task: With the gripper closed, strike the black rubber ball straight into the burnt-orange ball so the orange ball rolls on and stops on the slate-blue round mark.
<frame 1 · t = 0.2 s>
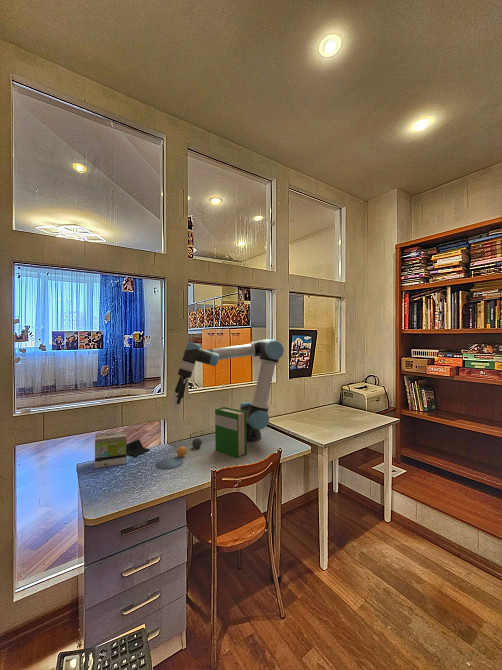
hand: (174, 406, 169), 27 cm above the table, tool tilted 20°, fingers open, 13 cm apart
tea box: (111, 463, 162), on the table
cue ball: (196, 443, 182), on the table
black bookend: (137, 453, 175), on the table
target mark: (169, 463, 160), on the table
orange ball: (181, 451, 169), on the table
hardback book: (230, 452, 174), on the table
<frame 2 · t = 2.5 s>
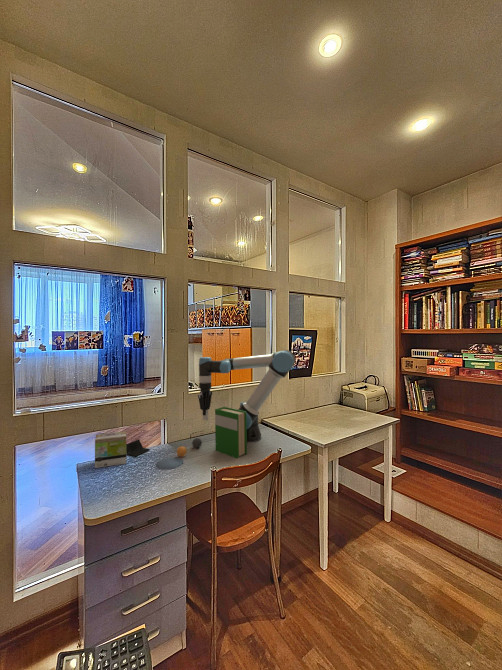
hand: (205, 420, 190), 14 cm above the table, tool pointing down, fingers closed
nothing on the table moved.
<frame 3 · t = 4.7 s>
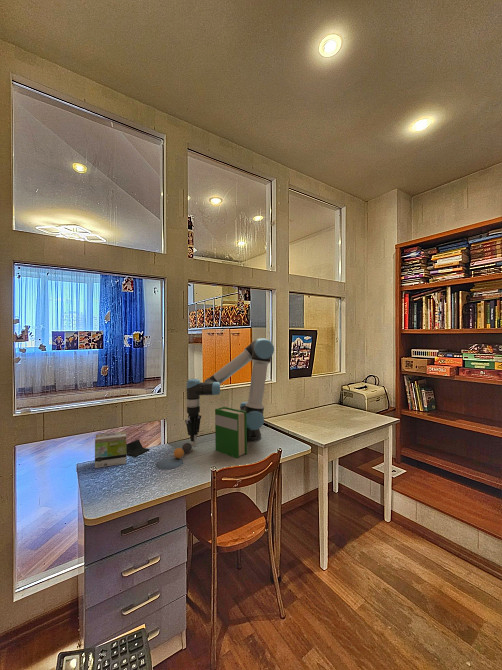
hand: (193, 446, 179), 2 cm above the table, tool pointing down, fingers closed
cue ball: (186, 447, 174), on the table
orange ball: (178, 453, 167), on the table
everything else where it was.
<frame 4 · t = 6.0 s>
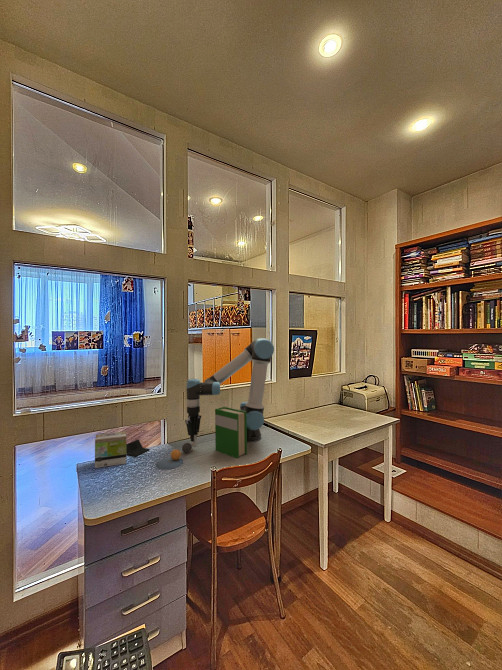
hand: (193, 446, 179), 2 cm above the table, tool pointing down, fingers closed
orange ball: (175, 454, 165), on the table
everything else where it was.
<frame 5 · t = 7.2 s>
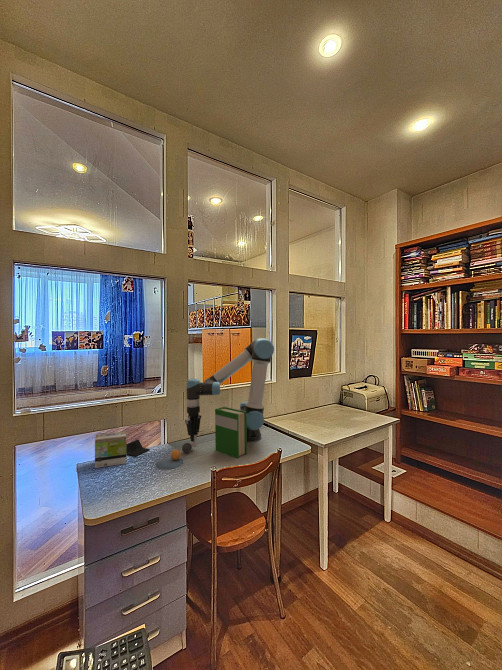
hand: (193, 446, 179), 2 cm above the table, tool pointing down, fingers closed
nothing on the table moved.
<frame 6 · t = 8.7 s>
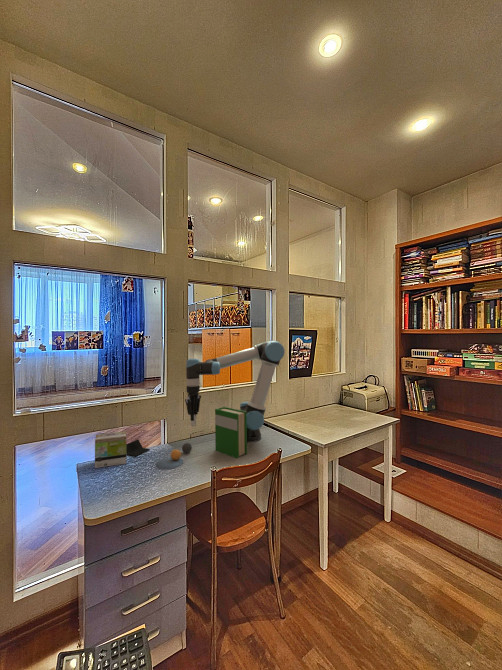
hand: (193, 425, 179), 14 cm above the table, tool pointing down, fingers closed
nothing on the table moved.
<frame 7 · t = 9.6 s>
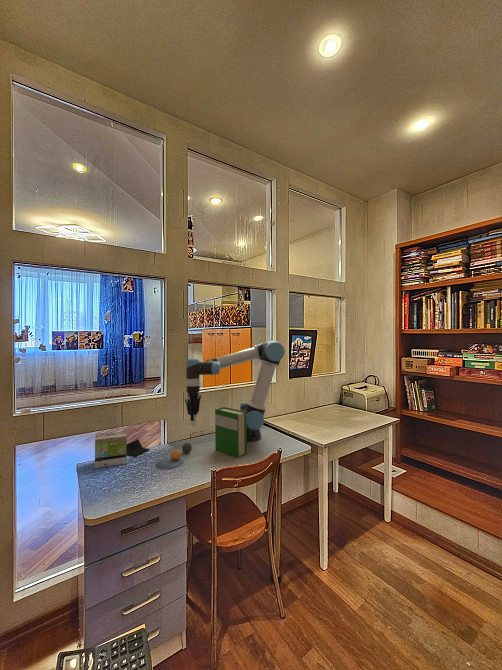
hand: (193, 425, 179), 14 cm above the table, tool pointing down, fingers closed
nothing on the table moved.
at the end: orange ball 5.0 cm from the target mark (horizontally); orange ball never touched the robot; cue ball first touched orange ball at 4.3 s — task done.
